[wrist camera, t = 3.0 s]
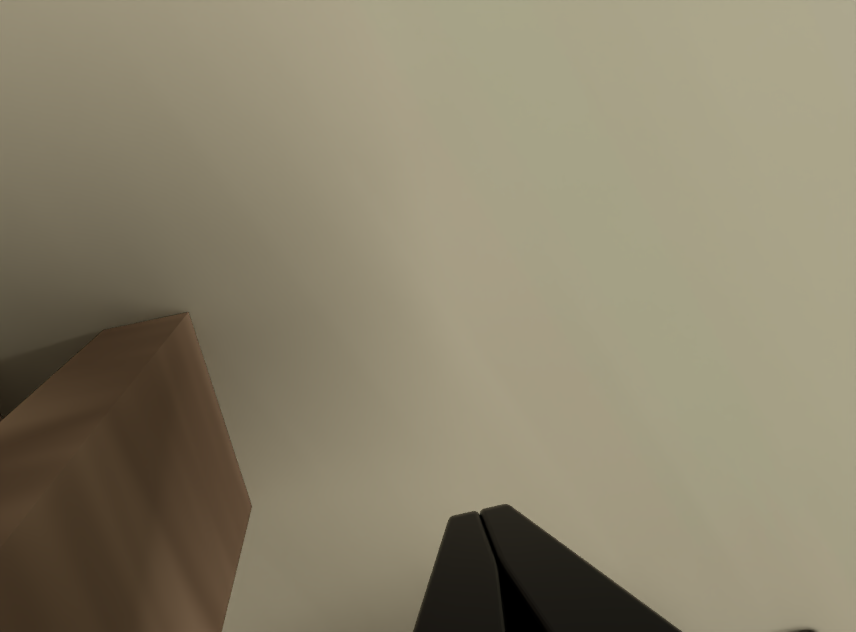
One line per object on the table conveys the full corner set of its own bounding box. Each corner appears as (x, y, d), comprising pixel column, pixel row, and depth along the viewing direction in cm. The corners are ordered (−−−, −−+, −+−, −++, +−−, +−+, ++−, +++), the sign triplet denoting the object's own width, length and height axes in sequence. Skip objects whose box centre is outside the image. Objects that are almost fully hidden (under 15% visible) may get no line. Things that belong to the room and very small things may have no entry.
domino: (188, 311, 13) (-88, 658, 5) (252, 506, 15) (127, 1021, 6) (103, 329, 13) (-331, 715, 5) (176, 523, 15) (-51, 1069, 6)
